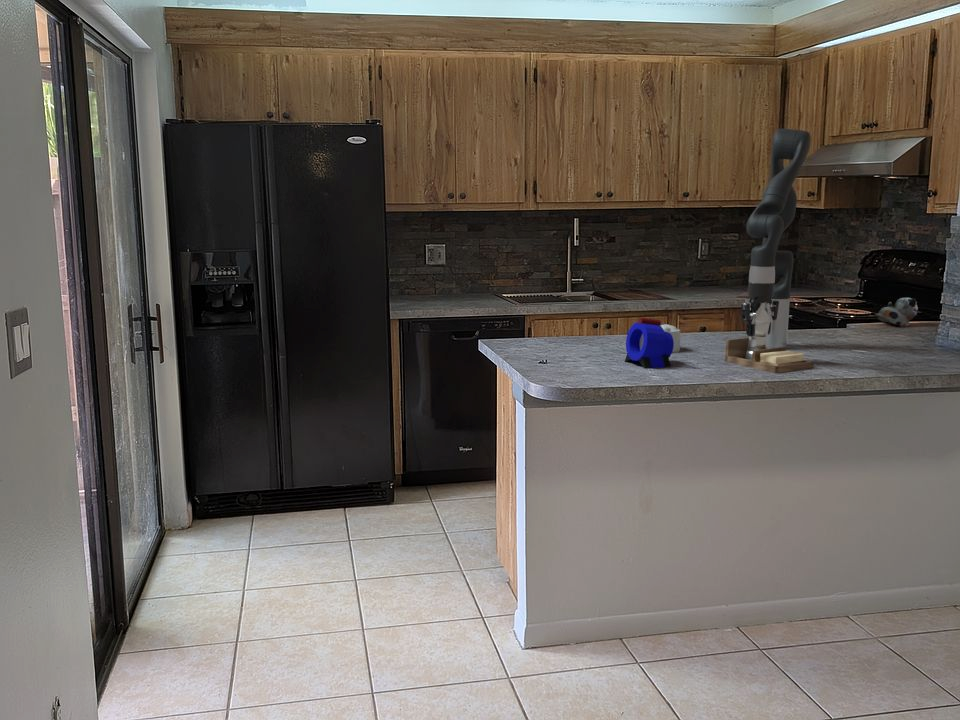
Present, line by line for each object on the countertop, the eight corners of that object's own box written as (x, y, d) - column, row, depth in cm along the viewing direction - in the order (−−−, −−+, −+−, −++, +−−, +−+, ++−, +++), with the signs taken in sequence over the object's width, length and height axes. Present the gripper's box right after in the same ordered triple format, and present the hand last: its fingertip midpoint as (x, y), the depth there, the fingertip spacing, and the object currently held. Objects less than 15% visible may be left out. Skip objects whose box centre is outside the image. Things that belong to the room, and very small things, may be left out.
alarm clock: (622, 361, 279) (624, 314, 276) (656, 359, 283) (657, 313, 280) (642, 369, 268) (644, 320, 265) (677, 366, 272) (679, 318, 269)
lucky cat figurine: (880, 321, 363) (900, 292, 360) (907, 335, 356) (927, 306, 353) (870, 314, 352) (891, 284, 349) (898, 329, 345) (919, 299, 342)
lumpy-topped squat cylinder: (683, 351, 296) (684, 326, 294) (649, 354, 292) (650, 328, 290) (667, 346, 306) (668, 322, 304) (633, 348, 302) (634, 323, 300)
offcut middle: (759, 367, 264) (759, 360, 264) (783, 363, 270) (783, 356, 270) (777, 370, 259) (777, 364, 259) (801, 366, 265) (801, 360, 265)
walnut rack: (724, 365, 274) (726, 339, 272) (761, 360, 281) (763, 335, 280) (774, 377, 256) (776, 350, 255) (812, 371, 264) (814, 345, 263)
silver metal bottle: (740, 364, 274) (744, 300, 271) (757, 362, 277) (761, 299, 273) (754, 368, 269) (758, 303, 265) (772, 366, 271) (776, 302, 267)
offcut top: (759, 360, 265) (760, 353, 264) (787, 356, 270) (787, 350, 269) (775, 363, 259) (776, 357, 259) (803, 360, 264) (803, 354, 263)
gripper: (769, 278, 275) (765, 331, 278) (735, 280, 268) (732, 335, 271) (788, 280, 268) (784, 335, 271) (753, 283, 261) (750, 338, 264)
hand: (758, 334), depth 271 cm, fingers closed on silver metal bottle, 6 cm apart
